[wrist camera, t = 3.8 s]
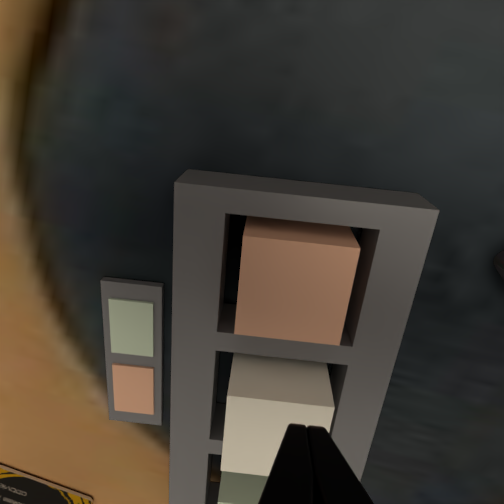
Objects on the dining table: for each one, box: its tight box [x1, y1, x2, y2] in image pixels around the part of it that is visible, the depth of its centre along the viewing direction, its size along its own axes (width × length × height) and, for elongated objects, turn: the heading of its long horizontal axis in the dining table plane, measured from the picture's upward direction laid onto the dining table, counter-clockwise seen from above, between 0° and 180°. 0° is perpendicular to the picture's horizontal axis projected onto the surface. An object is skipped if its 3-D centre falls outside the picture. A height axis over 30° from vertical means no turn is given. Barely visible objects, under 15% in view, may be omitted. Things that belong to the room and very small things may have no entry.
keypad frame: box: [169, 169, 439, 504], centre depth 20 cm, size 20×10×2 cm, turn 175°
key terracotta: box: [234, 216, 361, 346], centre depth 17 cm, size 4×4×3 cm
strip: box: [100, 277, 164, 425], centre depth 21 cm, size 9×3×1 cm, turn 175°
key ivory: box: [221, 353, 335, 476], centre depth 18 cm, size 4×4×3 cm
